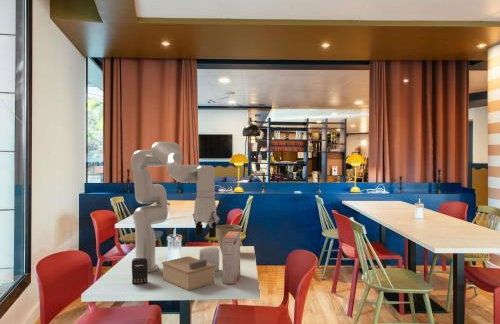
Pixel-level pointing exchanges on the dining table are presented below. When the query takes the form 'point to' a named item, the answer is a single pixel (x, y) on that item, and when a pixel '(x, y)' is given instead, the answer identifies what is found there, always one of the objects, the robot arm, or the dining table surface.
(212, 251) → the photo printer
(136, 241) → the robot arm
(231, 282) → the cracker box
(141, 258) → the battery charger
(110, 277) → the dining table surface
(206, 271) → the mailer box
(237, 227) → the plant pot
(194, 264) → the lid
